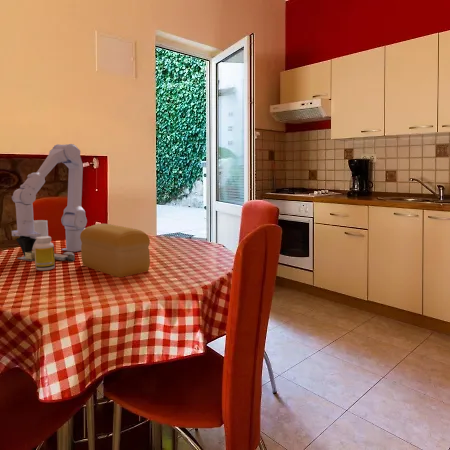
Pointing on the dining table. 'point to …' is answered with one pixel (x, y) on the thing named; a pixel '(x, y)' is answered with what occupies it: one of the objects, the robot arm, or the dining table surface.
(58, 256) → the tong arm
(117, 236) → the bread
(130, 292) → the dining table surface
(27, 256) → the block
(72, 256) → the dark-tipped long bar
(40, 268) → the pill bottle
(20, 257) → the plate
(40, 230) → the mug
